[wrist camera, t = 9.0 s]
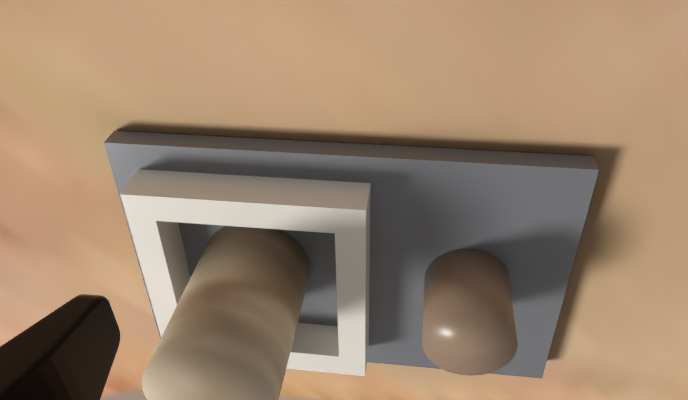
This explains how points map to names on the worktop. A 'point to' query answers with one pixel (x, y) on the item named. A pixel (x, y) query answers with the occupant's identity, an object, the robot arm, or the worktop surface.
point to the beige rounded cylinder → (233, 320)
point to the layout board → (373, 241)
